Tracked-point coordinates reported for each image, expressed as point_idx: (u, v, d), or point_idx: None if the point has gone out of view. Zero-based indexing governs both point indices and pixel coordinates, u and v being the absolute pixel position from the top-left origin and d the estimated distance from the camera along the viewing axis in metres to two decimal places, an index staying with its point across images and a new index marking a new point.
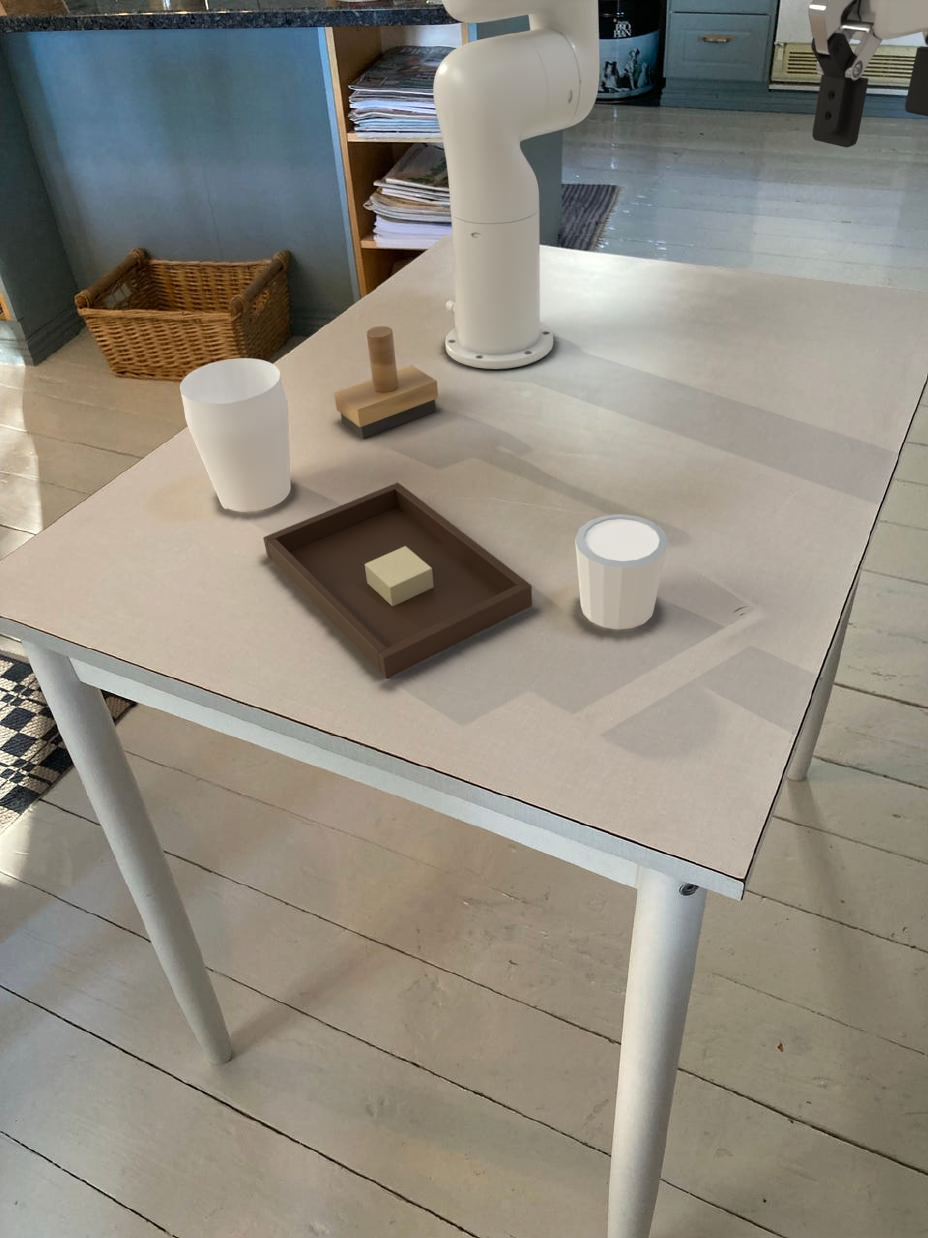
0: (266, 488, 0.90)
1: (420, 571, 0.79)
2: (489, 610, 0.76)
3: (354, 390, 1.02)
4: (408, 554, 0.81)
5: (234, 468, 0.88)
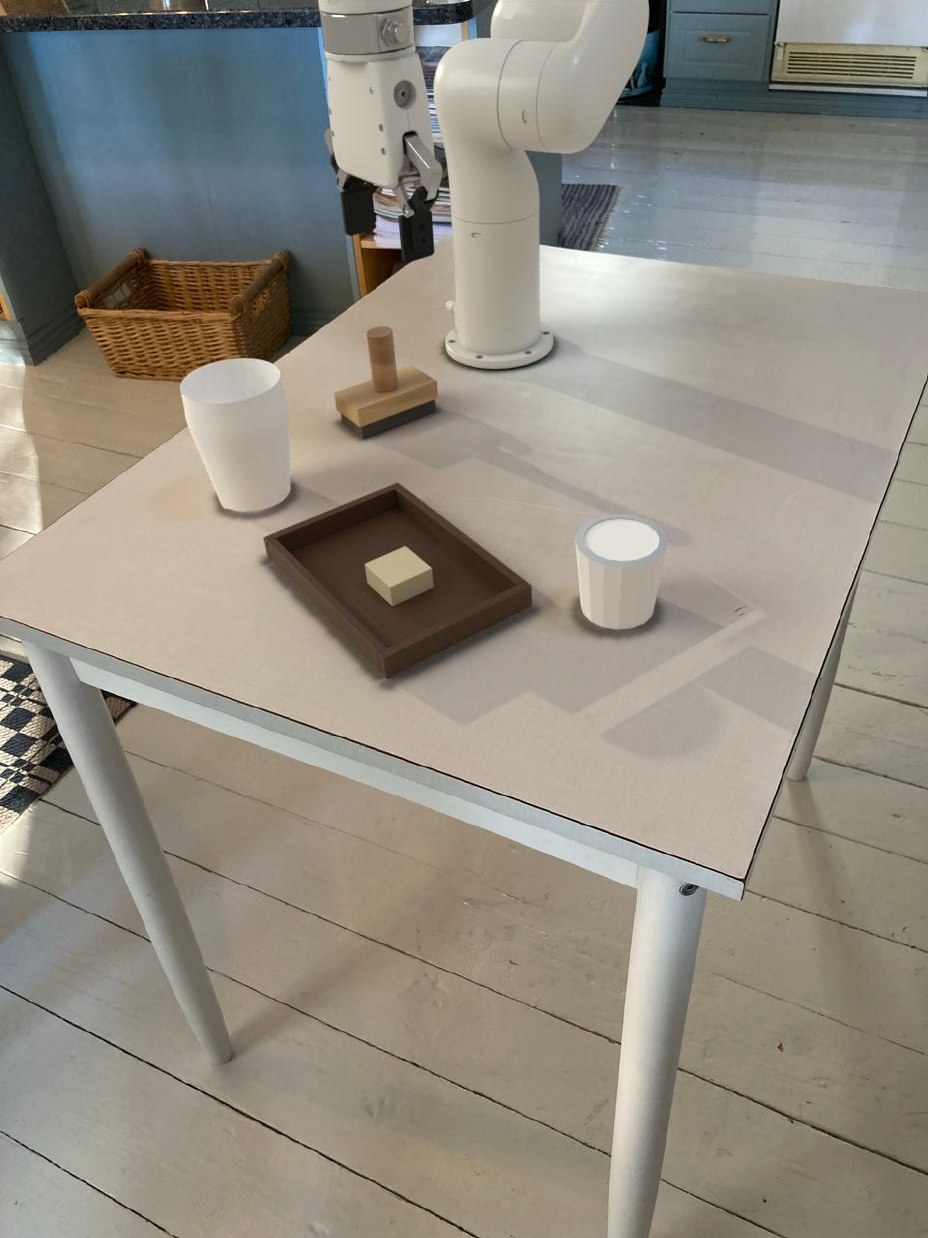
0: (266, 488, 0.90)
1: (420, 571, 0.79)
2: (489, 610, 0.76)
3: (354, 390, 1.02)
4: (408, 554, 0.81)
5: (234, 468, 0.88)
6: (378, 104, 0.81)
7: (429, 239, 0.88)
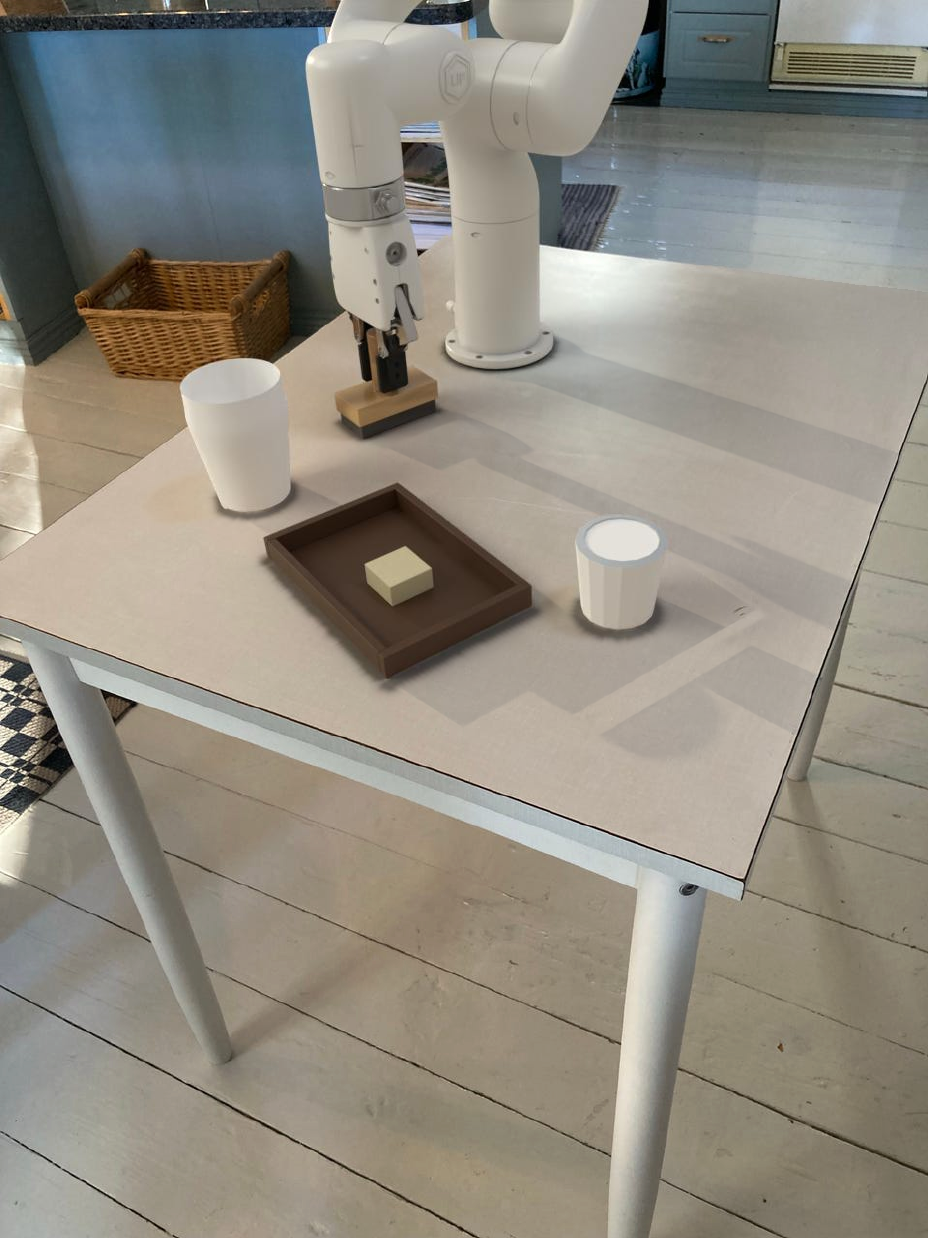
0: (266, 488, 0.90)
1: (420, 571, 0.79)
2: (489, 610, 0.76)
3: (354, 390, 1.02)
4: (408, 554, 0.81)
5: (234, 468, 0.88)
6: (372, 262, 0.90)
7: (403, 374, 1.00)
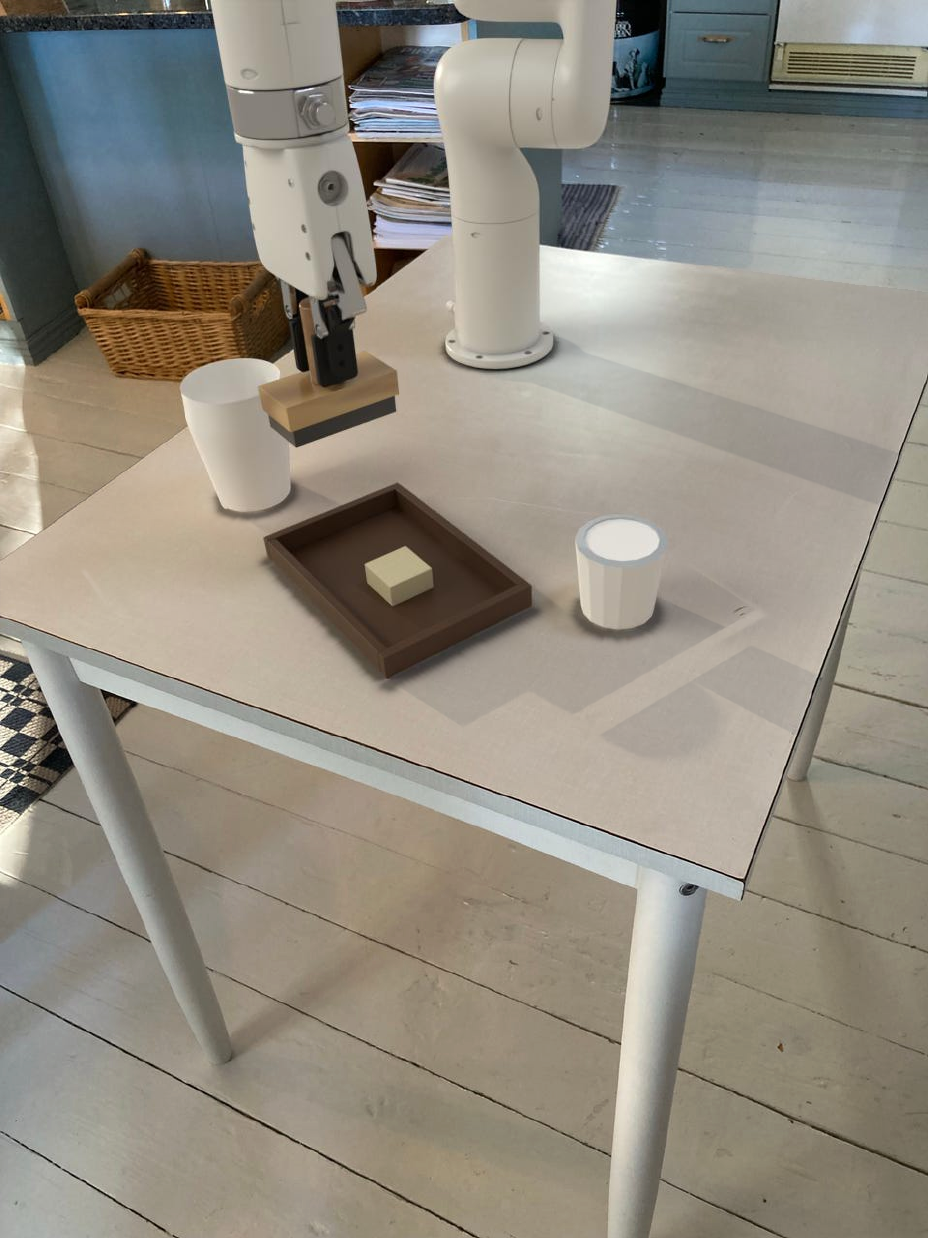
0: (266, 488, 0.90)
1: (420, 571, 0.79)
2: (489, 610, 0.76)
3: (285, 383, 0.76)
4: (408, 554, 0.81)
5: (234, 468, 0.88)
6: (298, 200, 0.64)
7: (350, 361, 0.74)
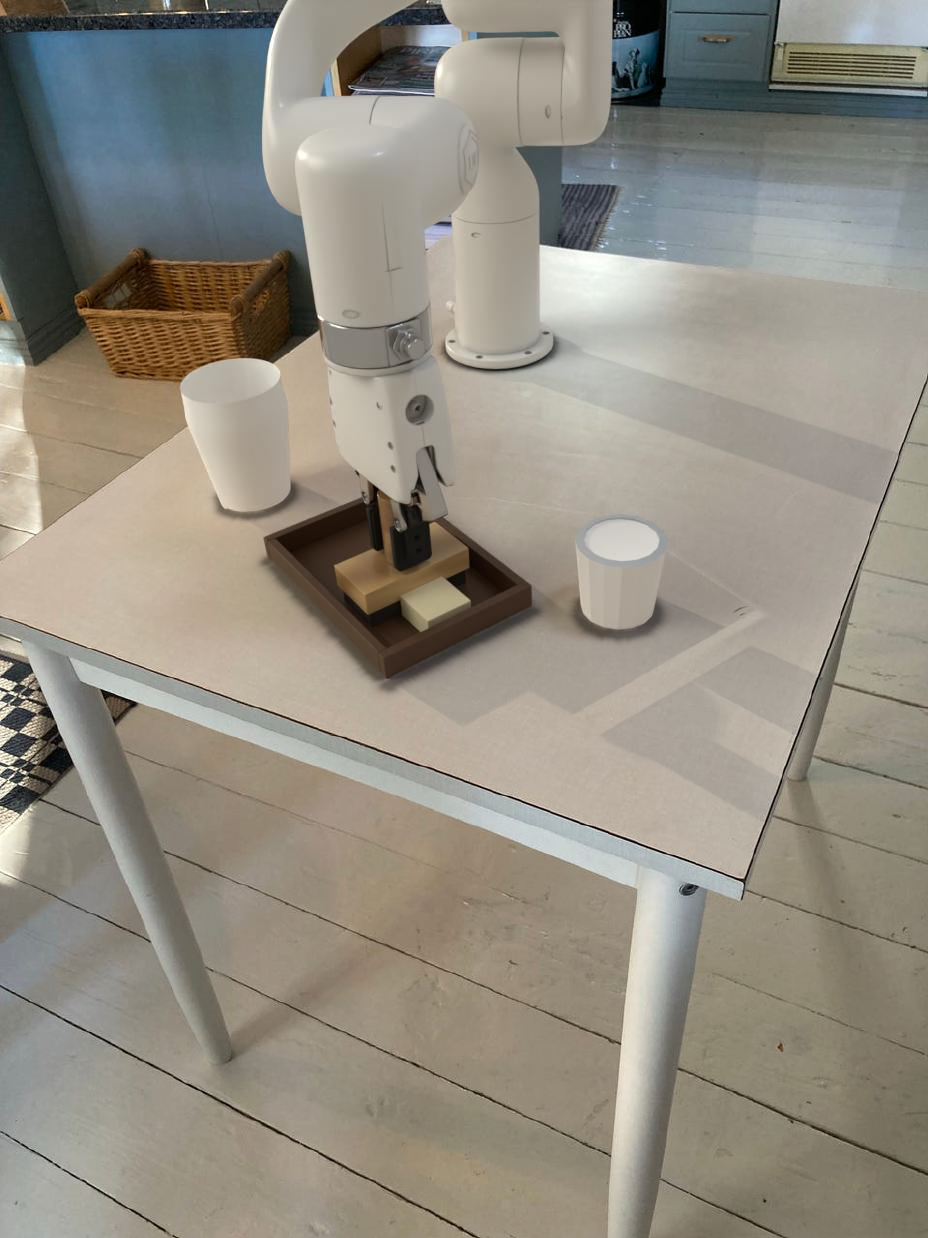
0: (266, 488, 0.90)
1: (458, 603, 0.76)
2: (489, 610, 0.76)
3: (360, 562, 0.78)
4: (445, 585, 0.78)
5: (234, 468, 0.88)
6: (386, 421, 0.66)
7: (426, 548, 0.76)
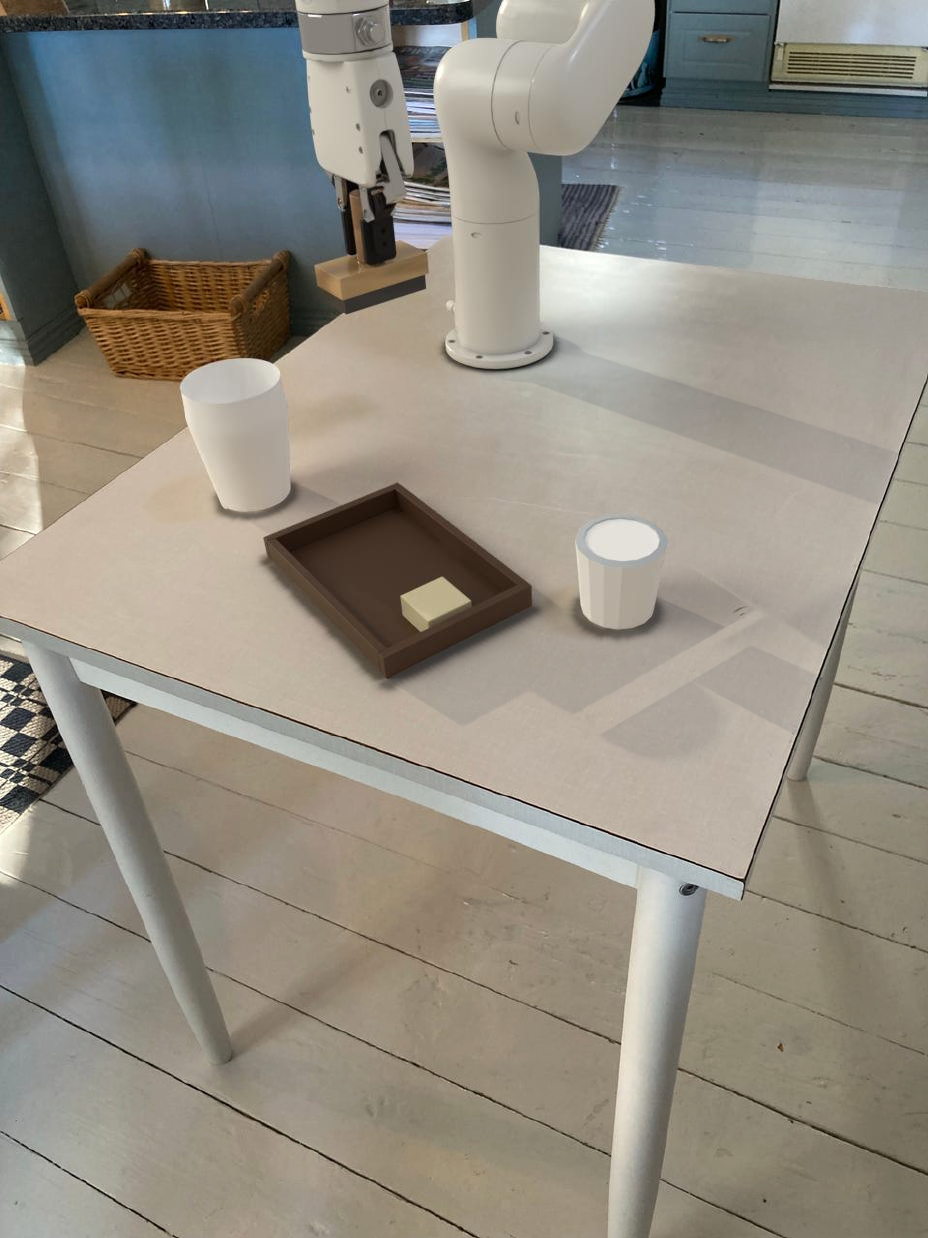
0: (266, 488, 0.90)
1: (459, 603, 0.76)
2: (489, 610, 0.76)
3: (336, 262, 0.93)
4: (445, 585, 0.78)
5: (234, 468, 0.88)
6: (354, 103, 0.81)
7: (391, 243, 0.91)
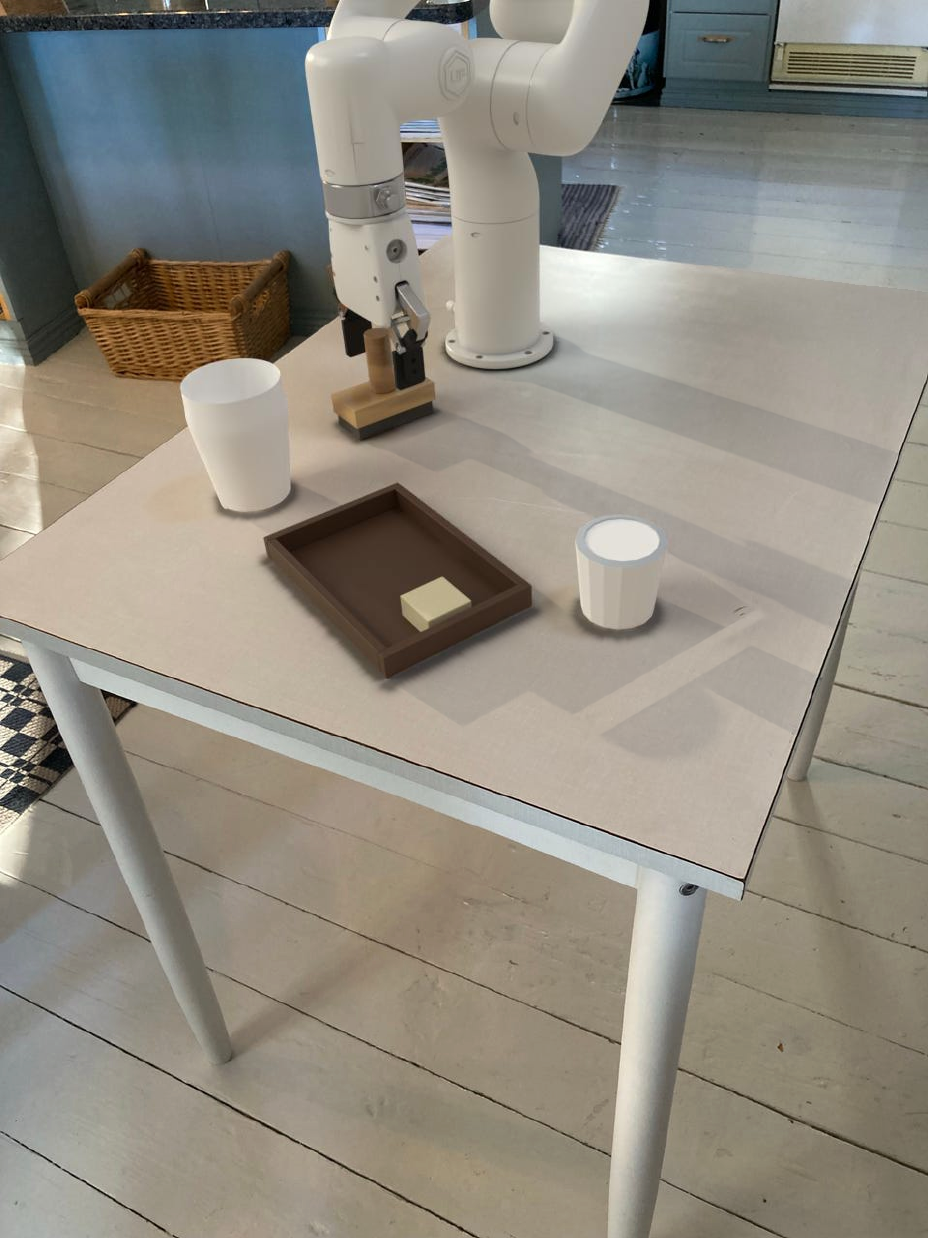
0: (266, 488, 0.90)
1: (459, 603, 0.76)
2: (489, 610, 0.76)
3: (351, 392, 1.02)
4: (445, 585, 0.78)
5: (234, 468, 0.88)
6: (372, 259, 0.90)
7: (420, 370, 0.97)
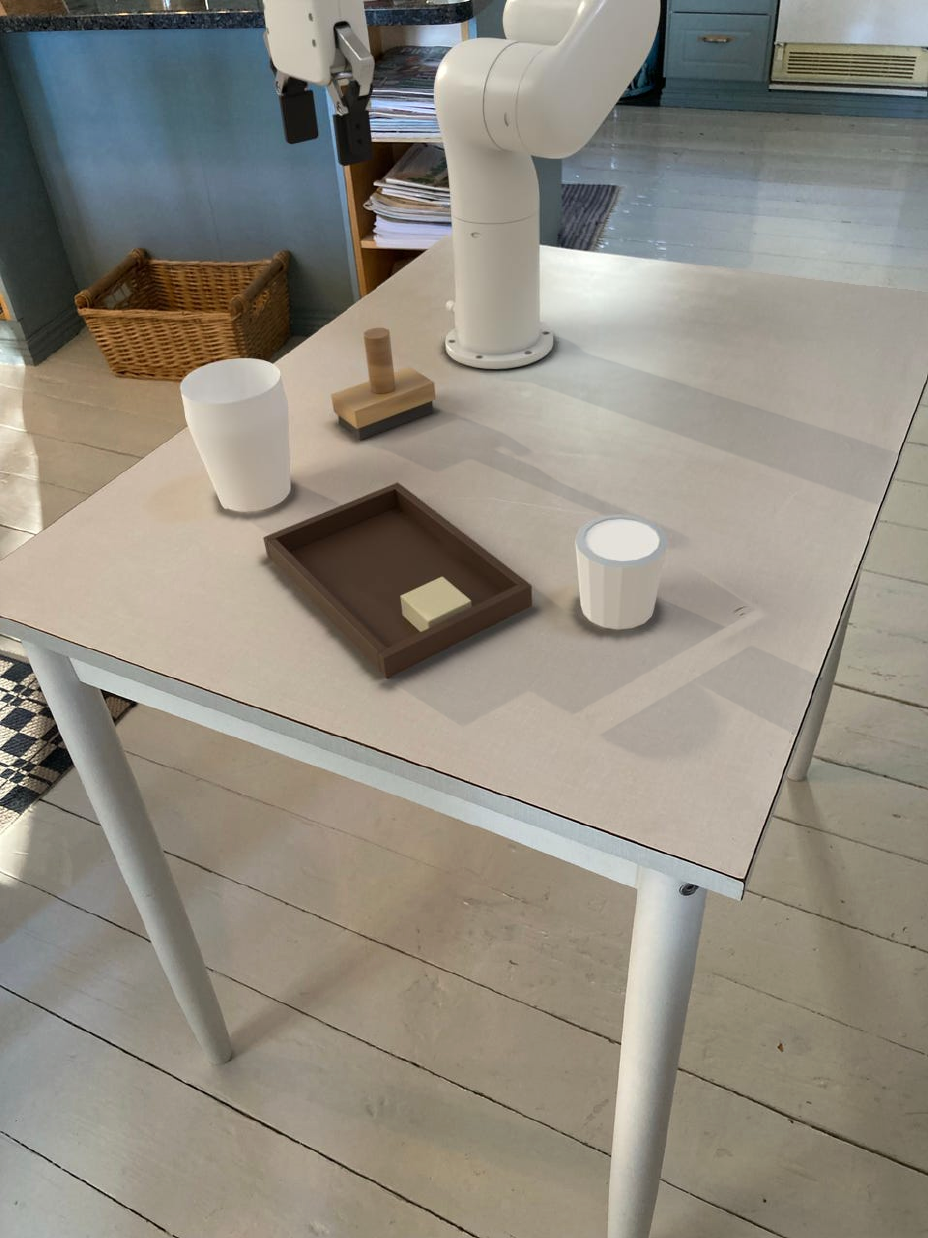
0: (266, 488, 0.90)
1: (459, 603, 0.76)
2: (489, 610, 0.76)
3: (351, 392, 1.02)
4: (445, 585, 0.78)
5: (234, 468, 0.88)
6: None
7: (367, 141, 0.84)
